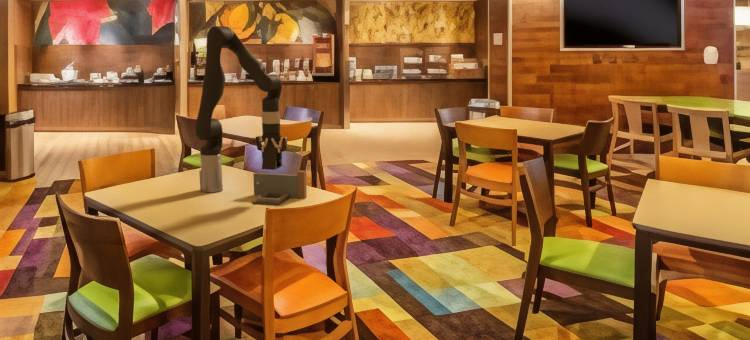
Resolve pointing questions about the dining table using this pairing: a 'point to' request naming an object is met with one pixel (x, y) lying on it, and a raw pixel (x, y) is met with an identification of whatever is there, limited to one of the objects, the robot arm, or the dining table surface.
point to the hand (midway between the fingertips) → (272, 160)
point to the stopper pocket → (272, 199)
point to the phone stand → (270, 157)
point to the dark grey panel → (281, 184)
